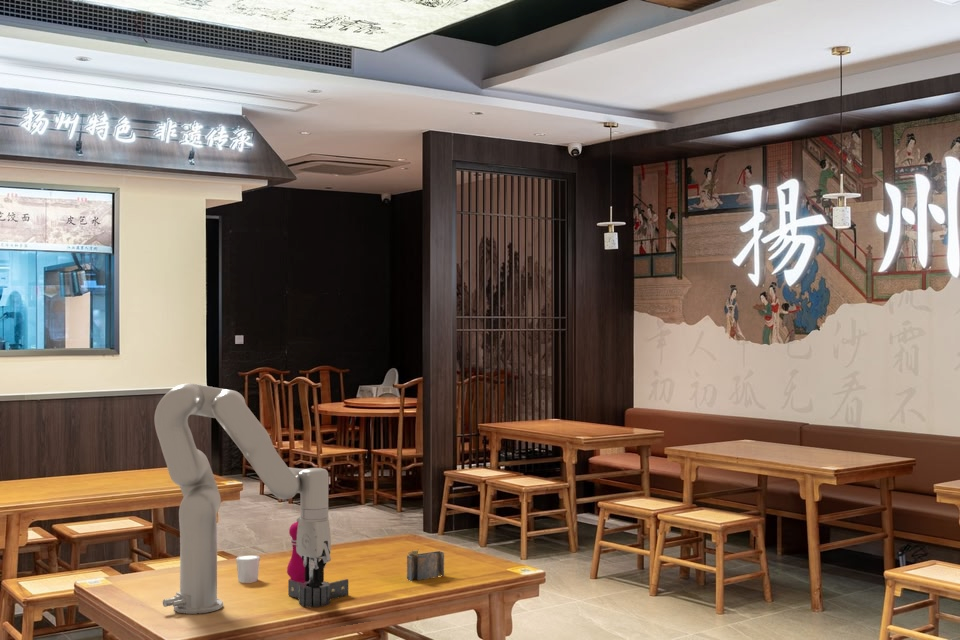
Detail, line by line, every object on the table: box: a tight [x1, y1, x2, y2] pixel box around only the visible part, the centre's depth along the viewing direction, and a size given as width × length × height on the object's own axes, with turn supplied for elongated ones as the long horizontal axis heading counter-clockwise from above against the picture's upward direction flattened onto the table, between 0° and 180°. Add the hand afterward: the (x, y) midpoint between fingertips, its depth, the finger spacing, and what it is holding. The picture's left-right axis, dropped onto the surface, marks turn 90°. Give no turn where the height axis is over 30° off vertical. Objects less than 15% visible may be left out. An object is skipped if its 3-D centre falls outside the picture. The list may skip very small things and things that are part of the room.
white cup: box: [235, 554, 261, 584], centre depth 289 cm, size 7×7×7 cm
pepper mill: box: [286, 516, 309, 583], centre depth 283 cm, size 7×7×20 cm
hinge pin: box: [309, 557, 321, 587], centre depth 264 cm, size 3×3×10 cm
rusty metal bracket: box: [406, 549, 445, 582], centre depth 291 cm, size 11×3×10 cm, turn 123°
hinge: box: [287, 578, 349, 608], centre depth 269 cm, size 16×16×5 cm
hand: (314, 581), depth 264 cm, fingers closed on hinge pin, 2 cm apart
